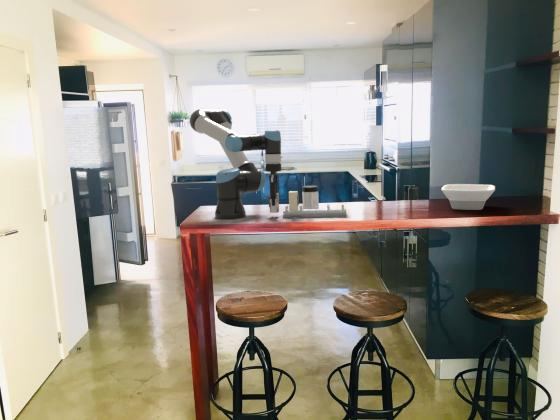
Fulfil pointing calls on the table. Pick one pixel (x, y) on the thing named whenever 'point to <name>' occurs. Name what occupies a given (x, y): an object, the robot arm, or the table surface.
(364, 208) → the table surface
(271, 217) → the table surface
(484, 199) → the bowl
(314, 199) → the jar
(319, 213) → the rail
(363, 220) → the table surface
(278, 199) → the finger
